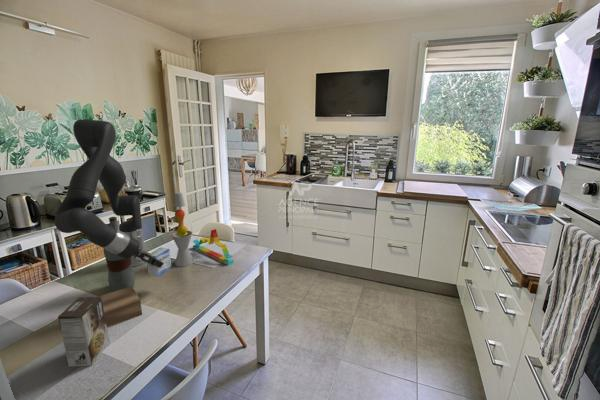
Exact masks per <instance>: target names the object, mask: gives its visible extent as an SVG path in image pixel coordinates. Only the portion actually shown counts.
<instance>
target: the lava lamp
mask: <svg viewBox="0 0 600 400" xmlns="http://www.w3.org/2000/svg"><path fill="white" fill-rule="evenodd" d="M185 203H186V202H185V199H184V196H183V193H182V192H181V191H178V192H177V191H176V192H174V199H173V207H174V208H182V207H185V206H186V204H185ZM185 216H186V214H185V211H184V210H182V209H177V210H176V211H175V212H174V217H175V218H176V220H177V223H178V228H177V231H175V232H172V234H171V237H172V239H173V241H174V243H175V245H176V247H177V249H178V250H177V253H176V258H175V261H174V265H175V266H176V267H180V268H182V267H187V266H191V265H193V264H194V263H195V261H194V258H193V256H192V253H191V252H190V250H189V246H190V242H191V239H192V235H193V232H192V231H190V230H188V227H187V226H185V225H184V218H185Z"/></svg>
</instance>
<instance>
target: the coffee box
mask: <svg viewBox="0 0 600 400" xmlns="http://www.w3.org/2000/svg"><path fill="white" fill-rule="evenodd" d="M57 320H58V323H59V324H58V325H59V328H60V333H61V337H62V341H63V346H64V349H65V350H64V351H65V355H66V360H67V364H68V367H69V368H70V367H71V368H73V367H91V366H93V365H94V364H95V363H96V361H97V360H98V359H99V357H100V356H101V354H102V353H103V352H104V351H105V350H106V348H107V346H108V345H109V343H110V337H109V332H108V331H109V330H108V327H107V325H106V320H105V315H104V309H103V304H102V299H101V297H98V296H95V297H94V296H81V297H78V298H77V299H75V300H74V301H73V303H71V304H70V305H69V306H68V307H67V308H65V310H64V311H63V312H61V313H60V314H59V315H58V316H57Z"/></svg>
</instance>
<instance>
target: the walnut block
mask: <svg viewBox="0 0 600 400" xmlns="http://www.w3.org/2000/svg"><path fill="white" fill-rule="evenodd" d="M97 297H101V299H102V304H103V309H104V315H105V320H106V325H107V328H110V327H112V326H116V325H118V324H120V323H123V322H126V321H128V320H129V321H130V320H131V319H134V318H137V317H139V316H142V315H143V311H142V310H143V309H142V302H141V299H140V297H139V295H138V293H137V292H136V290H135V289H134V287H132V286H131V287H127V288H124V289H121V290H117V291H114V292H113V291H112V292H108V293H105V294H104V293H103V294H102V295H99V296H97Z"/></svg>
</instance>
